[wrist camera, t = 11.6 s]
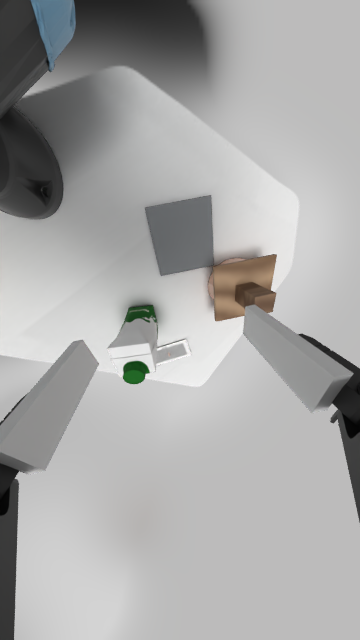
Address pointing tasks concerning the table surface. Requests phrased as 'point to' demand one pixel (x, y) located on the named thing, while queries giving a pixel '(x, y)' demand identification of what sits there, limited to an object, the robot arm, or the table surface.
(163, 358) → the touchpad
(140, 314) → the milk carton
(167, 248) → the mat
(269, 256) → the cover board
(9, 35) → the robot arm
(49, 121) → the table surface
